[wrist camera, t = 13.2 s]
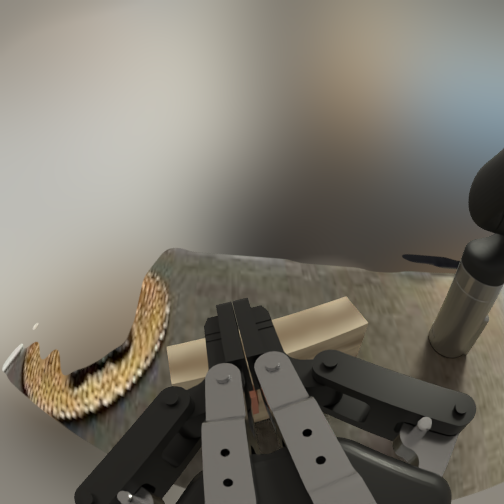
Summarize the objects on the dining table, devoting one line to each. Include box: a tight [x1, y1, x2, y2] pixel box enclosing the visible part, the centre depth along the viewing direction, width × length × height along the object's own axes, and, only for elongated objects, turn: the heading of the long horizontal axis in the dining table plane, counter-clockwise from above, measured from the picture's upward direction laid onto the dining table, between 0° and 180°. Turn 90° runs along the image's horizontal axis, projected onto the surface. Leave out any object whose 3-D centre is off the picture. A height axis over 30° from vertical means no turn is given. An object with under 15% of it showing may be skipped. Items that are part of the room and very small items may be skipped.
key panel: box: [167, 297, 368, 423], centre depth 33 cm, size 5×22×16 cm, turn 107°
